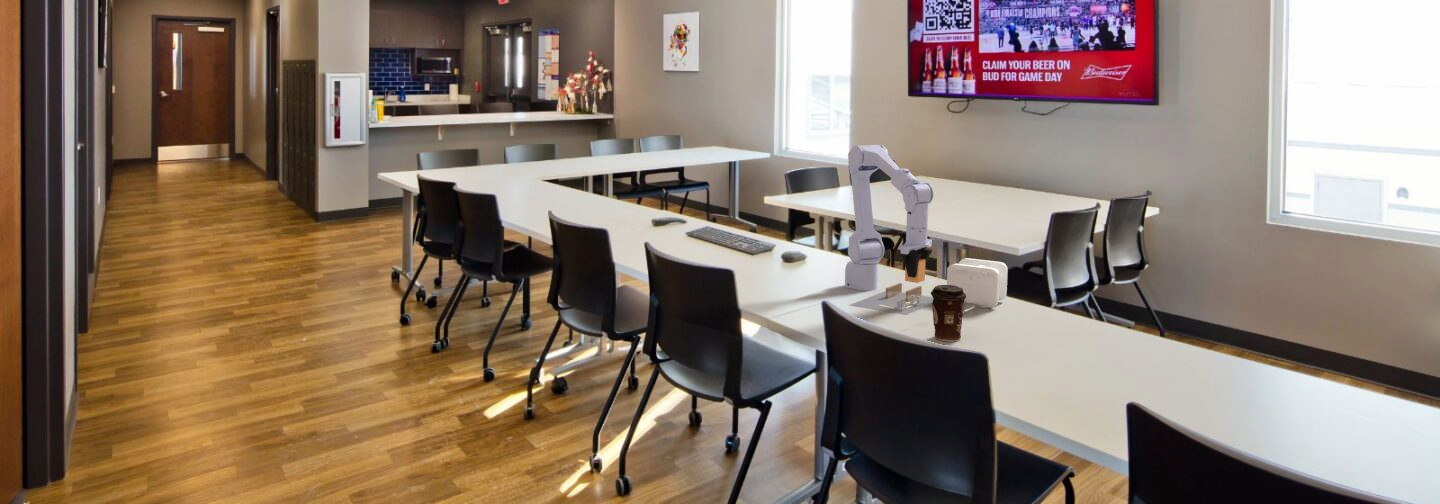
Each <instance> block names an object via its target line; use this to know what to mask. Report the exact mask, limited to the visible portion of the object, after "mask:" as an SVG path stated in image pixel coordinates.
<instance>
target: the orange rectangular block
mask: <svg viewBox="0 0 1440 504" xmlns="http://www.w3.org/2000/svg"><path fill="white" fill-rule="evenodd" d="M904 266H905V265H904ZM904 271H905V272H904V281H905V282H910V283H917V284H919V283H921V282H924V281H925V280H926V267H925V259H919V262H918V267H917V274H916V277H915V278H914V277H908V274H907V270H906V266H905V268H904Z"/></svg>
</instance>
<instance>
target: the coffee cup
mask: <svg viewBox="0 0 1440 504" xmlns="http://www.w3.org/2000/svg"><path fill="white" fill-rule="evenodd" d="M930 295H931V297H933V302H932V304H931V308H932V310H931V311H932V319H933V320H932V321H933V322H932V323H933V327H934V338H935V339H936V340H938V341H942V342H947V343H954V341H955V342H958V341H957V340H959V341H961V338H962V336H961V335H962V334H961V333H962V325H963V318H964V317H963V316H964V309H965V302H964V300H965V298H966V294H965V293H964V292H963V289H962V288H960V287H958V286H955V285H947V284H938V285H936V286H934V287H933V288H932V291H930Z"/></svg>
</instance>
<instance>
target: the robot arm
mask: <svg viewBox="0 0 1440 504" xmlns="http://www.w3.org/2000/svg"><path fill="white" fill-rule="evenodd" d="M847 157H848V159H847V160H848V168H849V169H848V170H849V173H850V179H851V189H852V199H853V201H852V202H853V212H854V222H855V230H854V232H853V234H851V235H850V236H849V238H848V247H847V253H848V258H849V259H850V260H849V261H847V263H846V265H845V268H844V288H847V289H852V290H853V289H854V290H856V291H864V292H865V291H866V292H869V291H876V290H877V289H878V288H879V287H878V286H879V284H878V283H879V280H878V279H879V278H878V277H879V263H881V259H882V258H884V255H885V246H884V242H883V240H882V235H881V234H880V232H878V231H876V230H875V229H874V228H875V227H874V225H875V224H874V215H873V205H872V193H871V183H870V181H871V180H870V178H871V176H872V174H873V173H875V172H876V171H877V170H881V171H882V172H883V173H885V174H886V176H889V178H890V182H891V185H892V186H893V187H894V188H896V190H897V191H899V193H901V195H902V200H903V202H904V210H905V211H906V229H905V230H906V234H905V236H906V237H905V242H904V244H903V245H902V246H900V256H901V258H902V260H903V263H904V266H906V270H907V274H908V277H914V278H915V277H916V274H917V267H918V262H919V259H925V268H926V265H927V262H928V260H929V258H930V256H931V254H932V252H933V249H932V248H930V247H932V246H933V245H932V244H933V239H929V238H928V228H929V226H928V225H929V223H928V222H929V204H931V203H932V201H933V200H934V199H933V198H934V190H933V187H932V186H931V184H930V183H929V182H922V181H920V180H919V179H918V178H916V177H915V176H914V174H912V173H911V172H910V169H908V168H903V167H902V168H900V167H899V166H898V165H897V164H896V162H894V160H893V159H892V158H891V157H890V155H889V151H888V149H887V148H886V147H885V146H884V145H883V144H881V143H878V144H872V145H869V144H867V145H866V144H865V145H853V146H852V147H851V148H850V150H849V152H848V153H847ZM867 239H868V240H867Z"/></svg>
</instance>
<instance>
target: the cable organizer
mask: <svg viewBox="0 0 1440 504" xmlns="http://www.w3.org/2000/svg"><path fill="white" fill-rule="evenodd" d="M1008 268H1009V267H1008V266H1007V265H1006V263H1004V262H1002V261H997V260H996V261H995V260H985V259H977V258H969V257H966V258H962V259H960V261H959V262H958V263H952V264H950V265H949V266H948V267H947V269H946V285H955V286H958V287H960V288H962V289H963V292H964V293H965V294H966V298H965V300H964V303H967V304H974V306H975V307H977V308H983V309H987V308H993V307H995V306H997V305H998V304H999V301H1002V300H1004V299H1006V297H1007V295H1008V294H1007V291H1008V287H1007V286H1008V273H1009V271H1008V270H1009V269H1008Z"/></svg>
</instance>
